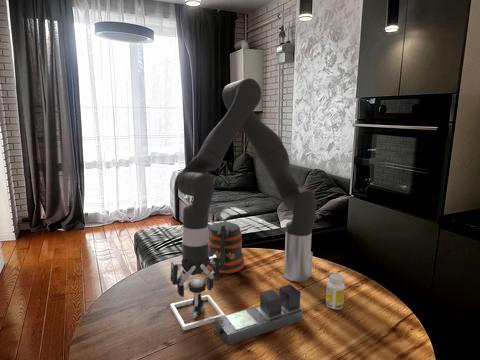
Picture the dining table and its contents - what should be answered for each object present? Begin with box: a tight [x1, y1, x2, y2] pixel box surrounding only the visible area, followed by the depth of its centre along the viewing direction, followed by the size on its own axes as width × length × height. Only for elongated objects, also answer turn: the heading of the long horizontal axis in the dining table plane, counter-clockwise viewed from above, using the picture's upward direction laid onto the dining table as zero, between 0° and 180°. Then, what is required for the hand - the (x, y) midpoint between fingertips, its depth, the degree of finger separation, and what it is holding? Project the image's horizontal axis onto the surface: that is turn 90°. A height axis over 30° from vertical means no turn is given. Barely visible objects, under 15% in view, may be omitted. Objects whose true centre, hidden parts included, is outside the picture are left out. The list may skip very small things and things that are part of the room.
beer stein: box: [206, 219, 245, 275], centre depth 128 cm, size 19×15×20 cm
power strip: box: [213, 284, 304, 346], centre depth 95 cm, size 27×8×8 cm, turn 117°
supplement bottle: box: [325, 273, 346, 310], centre depth 105 cm, size 5×5×10 cm
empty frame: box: [169, 294, 226, 332], centre depth 101 cm, size 13×13×1 cm
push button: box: [187, 277, 207, 319], centre depth 100 cm, size 7×5×10 cm
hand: (195, 292), depth 100 cm, fingers open, 8 cm apart
